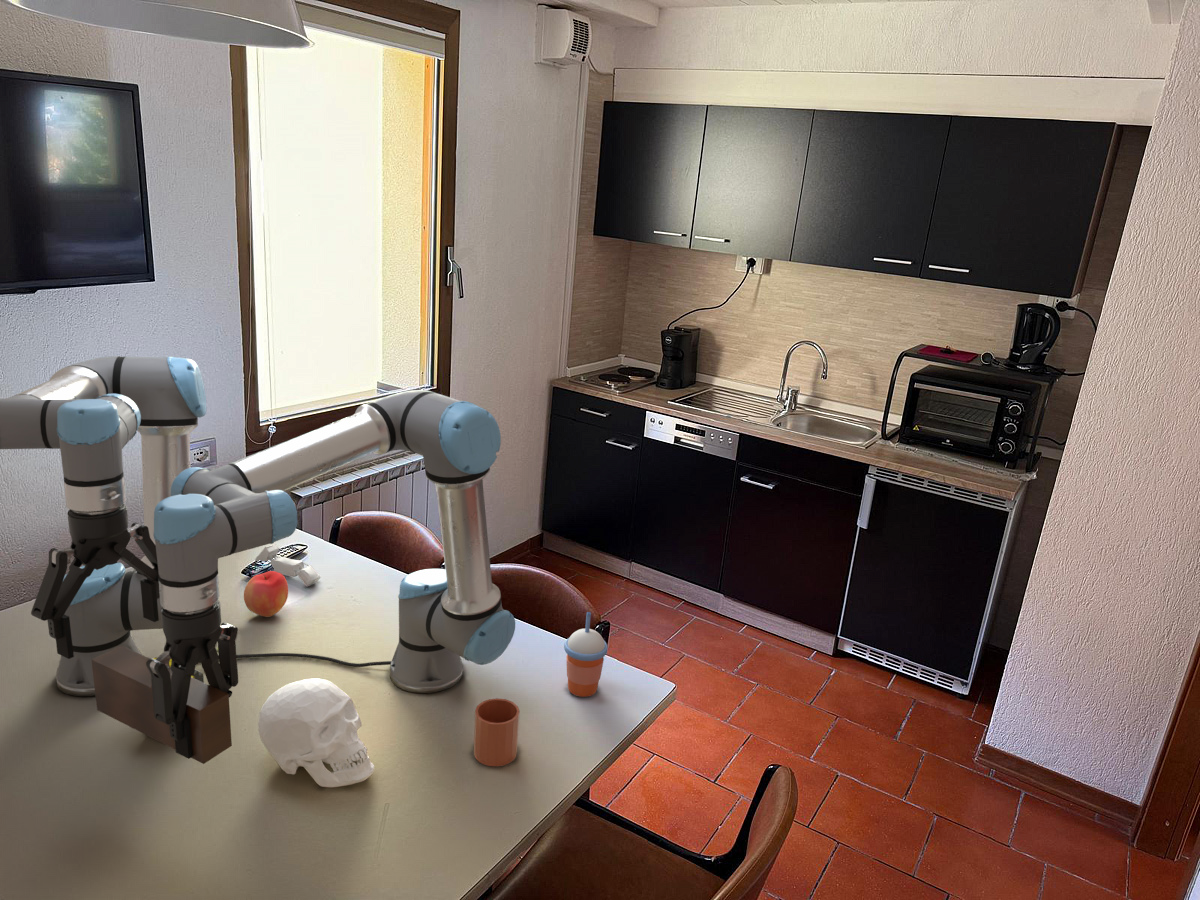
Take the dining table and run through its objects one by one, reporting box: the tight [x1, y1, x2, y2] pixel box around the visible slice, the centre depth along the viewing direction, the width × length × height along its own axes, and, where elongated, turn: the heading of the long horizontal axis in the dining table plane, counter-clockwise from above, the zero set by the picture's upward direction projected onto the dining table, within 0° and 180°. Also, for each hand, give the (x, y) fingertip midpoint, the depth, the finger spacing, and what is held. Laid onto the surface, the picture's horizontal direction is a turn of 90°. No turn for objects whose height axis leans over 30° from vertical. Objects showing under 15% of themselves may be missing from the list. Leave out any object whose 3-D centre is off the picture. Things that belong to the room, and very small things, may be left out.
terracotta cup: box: [473, 697, 521, 767], centre depth 158 cm, size 8×8×9 cm
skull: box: [257, 677, 375, 788], centre depth 150 cm, size 13×22×16 cm, turn 73°
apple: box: [243, 570, 289, 618], centre depth 199 cm, size 10×10×10 cm
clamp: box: [254, 544, 322, 587], centre depth 219 cm, size 20×4×7 cm, turn 62°
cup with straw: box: [563, 611, 609, 698], centre depth 179 cm, size 9×9×18 cm
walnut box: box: [91, 646, 233, 765], centre depth 129 cm, size 24×5×9 cm, turn 63°
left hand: (110, 636), depth 131 cm, fingers open, 13 cm apart
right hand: (201, 743), depth 127 cm, fingers closed on walnut box, 5 cm apart
